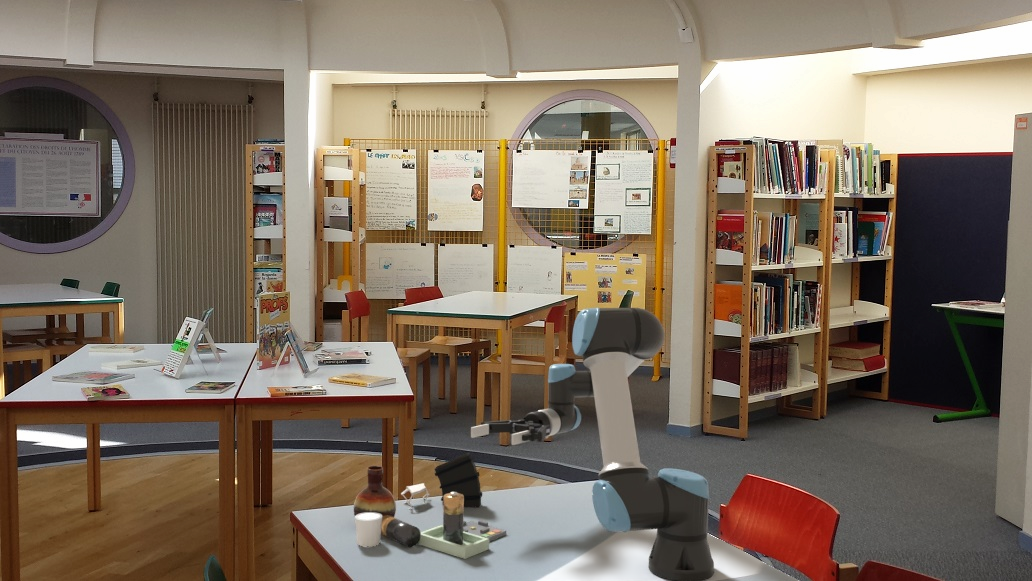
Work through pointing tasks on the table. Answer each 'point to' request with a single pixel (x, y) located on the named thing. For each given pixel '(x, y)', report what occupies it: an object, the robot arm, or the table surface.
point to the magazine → (460, 479)
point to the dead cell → (400, 531)
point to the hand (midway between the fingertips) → (491, 436)
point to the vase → (375, 495)
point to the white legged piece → (415, 492)
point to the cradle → (483, 530)
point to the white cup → (368, 528)
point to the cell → (453, 517)
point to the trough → (467, 549)
